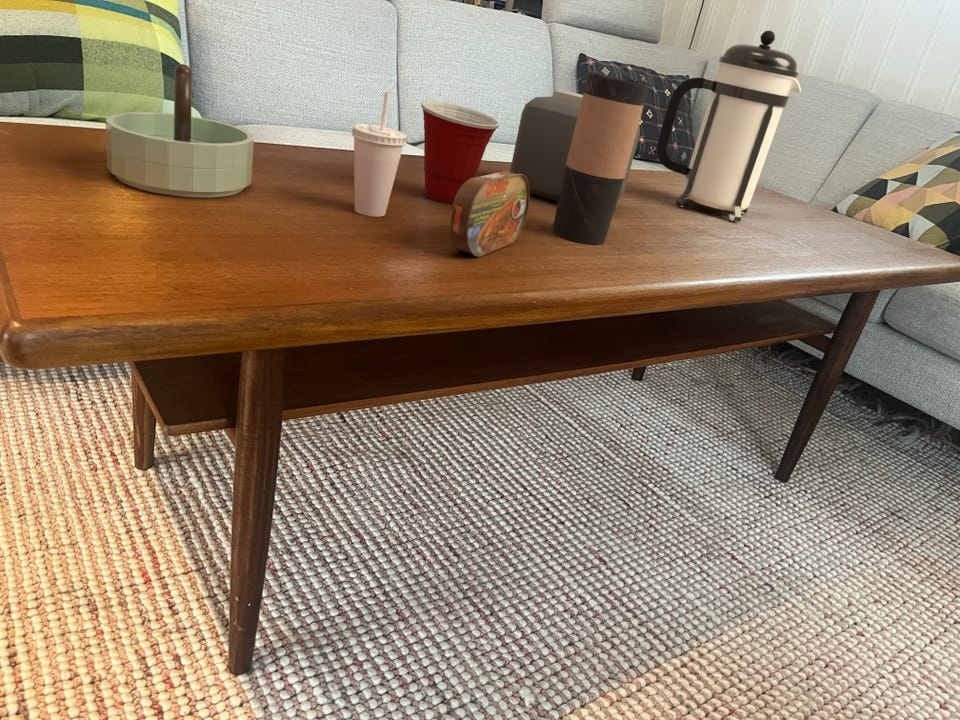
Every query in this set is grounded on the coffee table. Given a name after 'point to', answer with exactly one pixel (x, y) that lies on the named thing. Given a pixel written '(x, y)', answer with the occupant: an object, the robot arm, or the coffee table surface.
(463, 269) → the coffee table surface
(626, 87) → the travel mug
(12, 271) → the coffee table surface
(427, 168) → the plastic cup
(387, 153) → the smoothie
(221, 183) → the bowl
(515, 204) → the tin
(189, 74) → the wooden handle stamp
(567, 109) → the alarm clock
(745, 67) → the coffee press
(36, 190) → the coffee table surface
